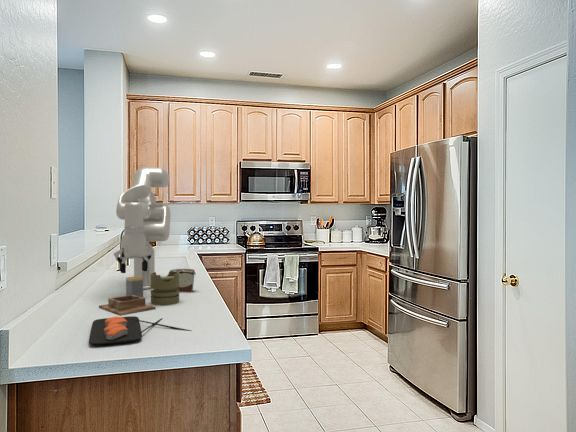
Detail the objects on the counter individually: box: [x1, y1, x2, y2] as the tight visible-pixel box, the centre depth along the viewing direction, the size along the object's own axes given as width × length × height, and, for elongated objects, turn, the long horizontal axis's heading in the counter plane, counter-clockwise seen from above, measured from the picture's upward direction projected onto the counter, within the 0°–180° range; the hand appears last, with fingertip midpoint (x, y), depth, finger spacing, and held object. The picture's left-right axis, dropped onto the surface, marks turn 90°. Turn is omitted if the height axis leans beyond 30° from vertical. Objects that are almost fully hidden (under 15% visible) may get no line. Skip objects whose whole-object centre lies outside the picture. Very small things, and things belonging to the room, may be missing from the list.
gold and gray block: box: [125, 276, 144, 298], centre depth 193 cm, size 5×5×9 cm
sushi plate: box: [88, 315, 193, 345], centre depth 145 cm, size 29×30×4 cm
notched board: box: [98, 295, 156, 316], centre depth 175 cm, size 18×14×4 cm
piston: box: [150, 270, 180, 306], centre depth 186 cm, size 11×12×11 cm
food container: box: [169, 268, 196, 293], centre depth 210 cm, size 12×6×10 cm, turn 84°
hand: (134, 271), depth 192 cm, fingers open, 9 cm apart
